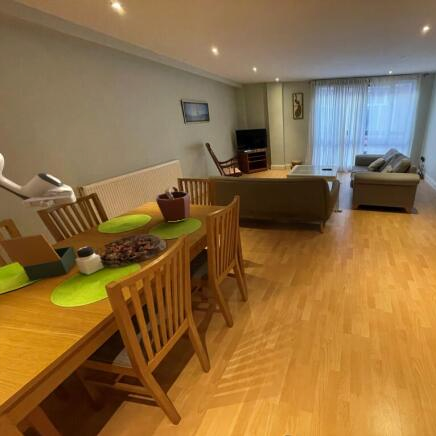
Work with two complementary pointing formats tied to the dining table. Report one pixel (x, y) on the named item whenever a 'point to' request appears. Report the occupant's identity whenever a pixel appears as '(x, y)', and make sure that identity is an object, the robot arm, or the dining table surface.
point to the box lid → (30, 250)
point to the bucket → (174, 204)
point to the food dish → (131, 250)
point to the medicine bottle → (88, 260)
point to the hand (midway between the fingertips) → (43, 205)
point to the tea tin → (52, 265)
